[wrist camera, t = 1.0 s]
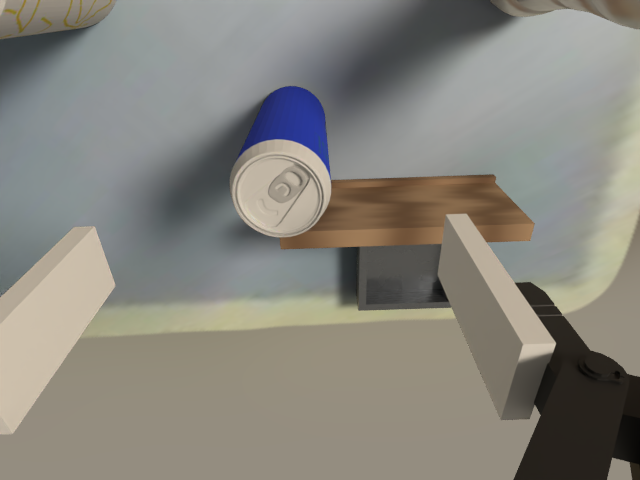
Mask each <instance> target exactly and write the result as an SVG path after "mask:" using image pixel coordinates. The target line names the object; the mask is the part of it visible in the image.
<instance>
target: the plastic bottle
mask: <svg viewBox="0 0 640 480" xmlns="http://www.w3.org/2000/svg"><path fill="white" fill-rule="evenodd" d="M490 1H491V2H492V4H494V5H495V6H496V7H498V8H499V9H500V10H502V11H503V12H504V13H507V14H509V15H512V16H517V17H529V16H536V15H541V14H545V13H548V12H551V11H554V10H560V9H574V10H579V11H584V12H590V13H592V14H595V15H597V16H600V17H602V18H605V19H607V20H610V21H612V22H614V23H617V24H619V25H622V26H626V27H630V28H634V29H640V0H490Z"/></svg>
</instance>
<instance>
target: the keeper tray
mask: <svg viewBox="0 0 640 480" xmlns="http://www.w3.org/2000/svg"><path fill="white" fill-rule="evenodd" d="M441 246H442V244H420V245H391V246H361V247H357V280H356V296H357V303H358V310H359V311H360V310H390V309H420V308H450V307H451V305H450V302H449V300H448V298H447V296H446V293H445V291H444V289H443V286H442V284H441V282H440V279H439V277H438V268H439V261H440V253H441Z"/></svg>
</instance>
